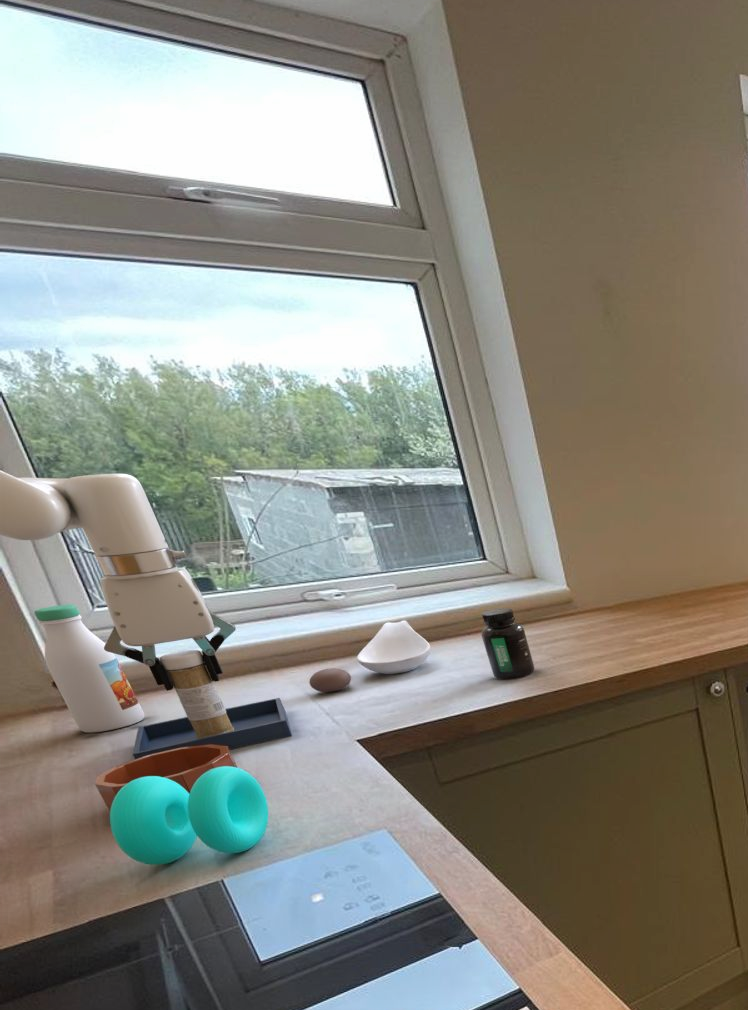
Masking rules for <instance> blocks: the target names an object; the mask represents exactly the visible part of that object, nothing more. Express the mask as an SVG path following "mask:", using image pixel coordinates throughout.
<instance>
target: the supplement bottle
mask: <svg viewBox="0 0 748 1010" xmlns="http://www.w3.org/2000/svg"><path fill="white" fill-rule="evenodd" d="M481 617H482V619H483V624H484V625H486V626H485V627H484V628H483V629H482V630H481V639H482V641H483V646H484V648H485V652H486V656H487V659H488V662H489V665H490V668H491V672H492V675H493V677H494V678H495V679H497V680H513V679H514V680H515V679H519V678H524V677H527V676H530V675H531V674H533V673H534V671H535V664H534V660H533V657H532V653H531V649H530V646H529V642H528V639H527V635H526V632H525V629H524V627H523V625H522V624H520V623H518V622H515V620H516V618H515V615H514V611H513V610H512V609H511V608H497V609H491V610H487V611H483V612H482V613H481Z"/></svg>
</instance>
